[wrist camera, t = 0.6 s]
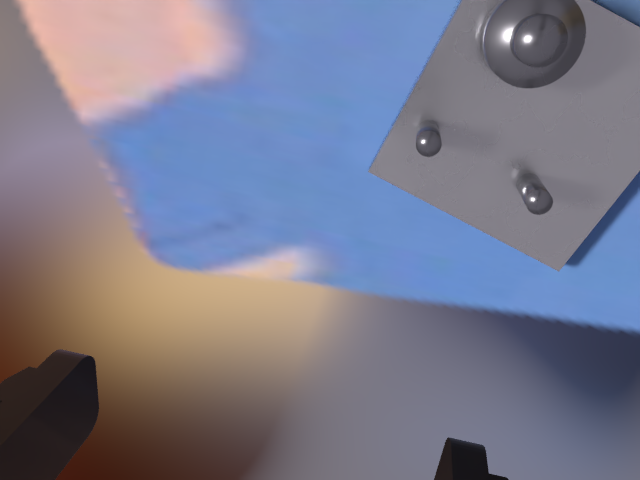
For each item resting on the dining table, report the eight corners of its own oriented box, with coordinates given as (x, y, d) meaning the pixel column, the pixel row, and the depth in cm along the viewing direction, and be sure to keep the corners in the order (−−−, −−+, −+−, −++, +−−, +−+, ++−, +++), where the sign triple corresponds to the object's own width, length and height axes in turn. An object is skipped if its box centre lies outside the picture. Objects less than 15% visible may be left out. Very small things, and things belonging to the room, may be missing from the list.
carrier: (489, -51, 29) (503, -64, 24) (708, 68, 30) (770, 81, 25) (369, 166, 35) (361, 194, 30) (554, 263, 36) (577, 307, 31)
